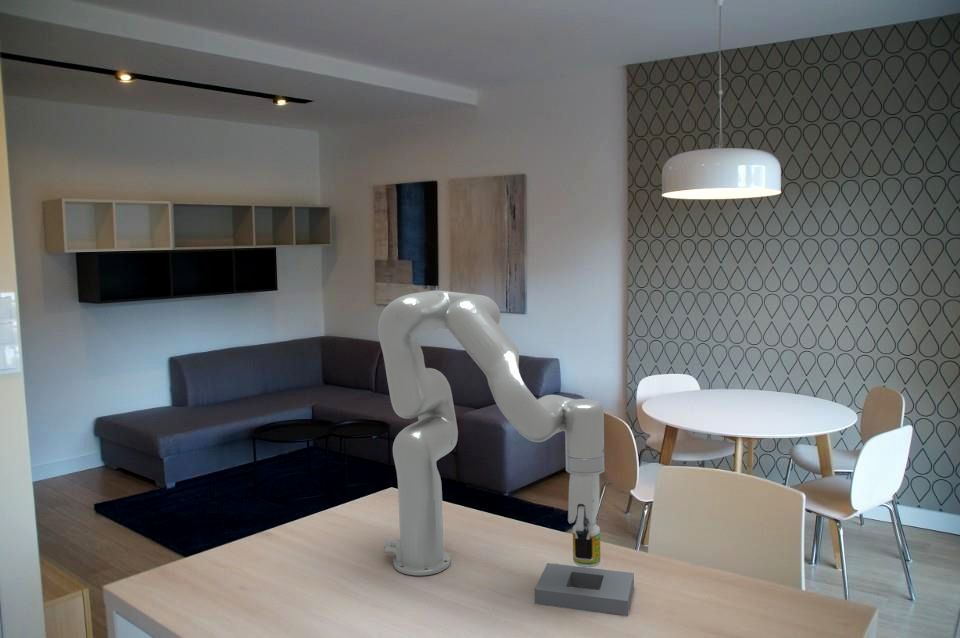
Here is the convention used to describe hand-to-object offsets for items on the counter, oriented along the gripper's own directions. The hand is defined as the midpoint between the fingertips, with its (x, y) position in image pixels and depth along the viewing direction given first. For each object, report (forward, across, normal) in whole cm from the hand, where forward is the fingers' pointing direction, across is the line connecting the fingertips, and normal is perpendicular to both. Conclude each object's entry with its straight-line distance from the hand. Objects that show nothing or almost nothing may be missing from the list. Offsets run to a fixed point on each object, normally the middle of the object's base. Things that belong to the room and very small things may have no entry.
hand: (586, 550), depth 148 cm
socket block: (+9, 0, 0) cm, 9 cm away
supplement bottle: (+3, 0, 0) cm, 3 cm away
